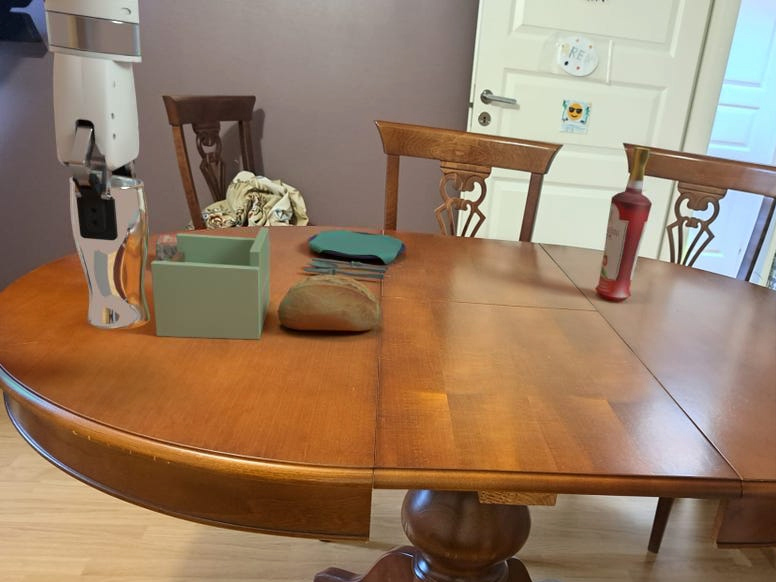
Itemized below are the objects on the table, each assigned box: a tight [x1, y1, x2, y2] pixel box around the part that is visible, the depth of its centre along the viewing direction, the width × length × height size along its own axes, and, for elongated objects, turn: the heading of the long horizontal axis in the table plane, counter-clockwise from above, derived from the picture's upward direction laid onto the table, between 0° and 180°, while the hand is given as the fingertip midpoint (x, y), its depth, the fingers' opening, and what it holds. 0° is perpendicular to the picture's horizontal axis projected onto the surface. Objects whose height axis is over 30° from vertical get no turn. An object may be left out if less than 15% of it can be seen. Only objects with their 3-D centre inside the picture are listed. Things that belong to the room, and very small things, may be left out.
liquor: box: [594, 146, 653, 303], centre depth 123 cm, size 7×7×28 cm
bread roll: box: [277, 274, 384, 332], centre depth 96 cm, size 10×15×8 cm, turn 102°
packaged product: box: [154, 234, 177, 262], centre depth 117 cm, size 18×5×10 cm
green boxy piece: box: [150, 227, 271, 341], centre depth 94 cm, size 13×16×12 cm
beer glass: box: [68, 174, 151, 331], centre depth 69 cm, size 7×7×15 cm
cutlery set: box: [302, 229, 407, 280], centre depth 132 cm, size 20×30×2 cm, turn 0°
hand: (111, 227), depth 68 cm, fingers closed on beer glass, 7 cm apart
